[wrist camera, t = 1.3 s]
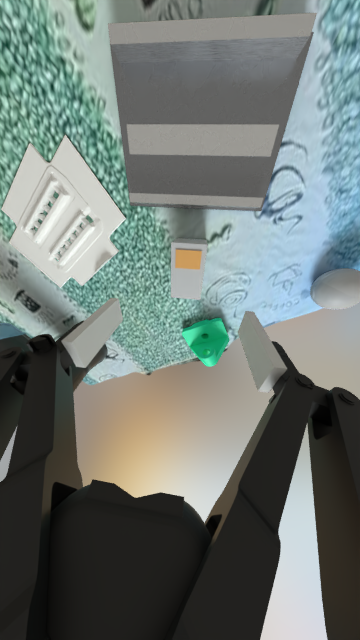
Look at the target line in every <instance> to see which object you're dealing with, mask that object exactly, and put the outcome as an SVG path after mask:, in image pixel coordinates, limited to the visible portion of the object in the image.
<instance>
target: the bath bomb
mask: <svg viewBox="0 0 360 640" xmlns="http://www.w3.org/2000/svg"><path fill="white" fill-rule="evenodd" d="M310 295H311V298H312V300H313V301H314V302H315V303H316V304H317V305H319V306H321V307H324V308H327V309H344V308H349V307H352V306H354V305H356V304H358V303H359V302H360V271H358V270H355V269H349V268H341V269H335V270H331V271H328V272H326V273H324V274H322V275H321V276H319V277H318V278H317V279H316V280H315V281H314V283H313V284H312V286H311V289H310Z"/></svg>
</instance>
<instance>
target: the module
mask: <svg viewBox="0 0 360 640" xmlns="http://www.w3.org/2000/svg"><path fill="white" fill-rule="evenodd" d="M207 246H208V244H207V241H206V240H205V239H188V238H177V239H175V240H174V241H173V242H171V297H174V298H185V299H196V300H200V297H201V290H202V283H203V275H204V268H205V260H206V253H207Z"/></svg>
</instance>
